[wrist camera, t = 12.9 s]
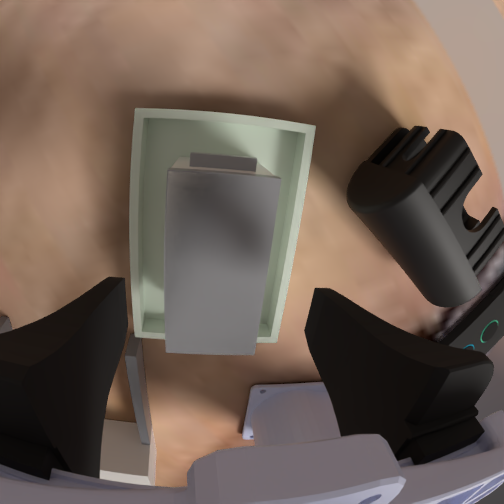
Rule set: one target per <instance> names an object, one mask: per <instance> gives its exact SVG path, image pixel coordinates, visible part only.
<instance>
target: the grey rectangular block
mask: <svg viewBox="0 0 504 504" xmlns="http://www.w3.org/2000/svg"><path fill="white" fill-rule="evenodd" d="M280 186H281V178H280V177H278V176H275V175H273V174H272V173H271V172H270V171H268V170H267V169H266V168H265V167H263V166H262V165H261V164H260V163H257V158H256V157H247V156H237V155H226V154H213V153H199V152H191V153H190V157H179V158H178V159H177V160H176V162H175V163H174V164H173V166H172V167H171V168H168V170H167V184H166V204H165V232H164V317H165V345H166V353H183V354H208V355H254V354H255V348H256V342H257V336H258V330H259V324H260V317H261V311H262V305H263V299H264V292H265V286H266V279H267V273H268V267H269V260H270V253H271V247H272V240H273V233H274V227H275V220H276V213H277V206H278V199H279V193H280Z"/></svg>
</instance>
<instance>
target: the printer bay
mask: <svg viewBox="0 0 504 504" xmlns="http://www.w3.org/2000/svg"><path fill="white" fill-rule="evenodd" d="M11 330H12V327H11V323H10V320H9V317H5V316H1V317H0V334H1V333H5V332H8V331H11ZM125 361H126V368H127V374H128V380H129V386H130V391H131V397H132V402H133V407H134V412H135V417H136V422H137V423H132V422H124V421H116V420H108V419H104V426H103V435H102V444H101V459H100V479H105V480H111V481H117V482H124V483H132V484H140V485H150V486H155V470H156V451H157V450H156V445H155V439H154V433H153V427H152V421H151V415H150V408H149V401H148V394H147V386H146V378H145V369H144V360H143V350H142V339H141V338H140V337H135V334H130V338H129V341H128V345H127V349H126V353H125Z"/></svg>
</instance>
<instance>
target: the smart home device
mask: <svg viewBox="0 0 504 504" xmlns="http://www.w3.org/2000/svg"><path fill="white" fill-rule="evenodd" d="M503 336H504V278H503V279H502V280H501V281H500V282H499V284H498V285H497V286H496V287H495V288H494V289H493V290H492V291H491V292H490V293H489V295H488V296H487V297H486V298H485V299H484V300H483V301H482V302H481V303H480V304H479V305H478V306H477V307H476V308H475V309H474V310H473V311H472V312H471V313H470V314H469V315H468V316H467V317H466V318H465V319H464V320H463V321H462V322H461V323H460V324H459V325H458V326H457V327H456V328H455V329H453V330H452V331H451V332H450V333H449V334H448V335H447V336H446V337H445V338H444V339H443V340H441V341H440V342H439V343H440V344H443V345H447V346H451V347H456V348H461V349H467V350H474V351H480V352H482V353H484V354H486V353H487V352H488V351H489V350H490V349H491V348H492V347H493V346H494V345H495V344H496V343H497V342H498V341H499V340H500V339H501V338H502V337H503Z"/></svg>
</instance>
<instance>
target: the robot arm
mask: <svg viewBox="0 0 504 504" xmlns="http://www.w3.org/2000/svg"><path fill="white" fill-rule="evenodd" d="M127 327H128V317H127V306H126V292H125V278H118V277H108V278H106V279H105V280H103V281H102V282H100V283H99V284H97V285H96V286H94V287H93V288H92V289H90V290H89V291H87V292H86V293H84V294H83V295H81V296H80V297H79V298H77V299H75V300H74V301H72V302H71V303H69V304H67V305H66V306H64V307H63V308H61V309H59V310H58V311H56V312H54V313H52V314H50V315H48V316H46V317H44V318H42V319H40V320H38V321H35V322H33V323H30V324H28V325H25V326H23V327H20V328H18V329H15V330H11V331H8V332H5V333H1V334H0V504H474V503H476V502H477V501H479V500H480V499H482V498H483V497H485V496H487V495H488V494H490V493H491V492H492V491H494V490H495V489H496V488H497V487H499V486H500V485H501V484H502V483H503V482H504V411H503V410H499V411H497V412H495V413H493V414H491V415H489V416H487V417H485V418H484V419H482V420H481V421H480V422H478V421H477V419H476V418H475V416H477V415H478V410H477V409H476V407H475V406H474V405H475V404H476V403H477V401H478V400H479V398H480V397H481V395H482V394H483V392H484V391H485V389H486V387H487V386H488V384H489V382H490V381H491V378H492V375H493V371H494V370H493V369H494V365H493V362H492V361H491V360H490V359H489V358H488V357H487V356H486V355H485V354H484V353H482V352H480V351H474V350H467V349H461V348H456V347H451V346H447V345H443V344H440V343H436V342H433V341H430V340H427V339H424V338H421V337H418V336H416V335H413V334H411V333H408V332H406V331H404V330H402V329H400V328H397V327H395V326H393V325H391V324H389V323H387V322H386V321H384V320H382V319H380V318H378V317H377V316H375V315H373V314H372V313H370V312H368V311H367V310H365V309H363V308H362V307H360V306H359V305H357V304H355V303H354V302H352V301H351V300H349V299H348V298H346V297H344V296H343V295H341V294H339V293H338V292H336V291H334V290H332V289H330V288H315V290H314V294H313V298H312V302H311V306H310V310H309V314H308V318H307V322H306V326H305V330H304V331H305V335H306V339H307V343H308V347H309V350H310V353H311V356H312V358H313V360H314V363H315V365H316V367H317V369H318V372H319V374H320V376H321V378H322V381H323V382H311V383H295V384H271V385H254V386H252V387H251V390H250V395H249V400H248V406H247V411H246V416H245V421H244V427H243V432H242V438H243V439H254V442H255V446H243V447H236V448H230V449H223V450H217V451H215V452H212V453H210V454H208V455H206V456H203V457H201V458H199V459H197V460H196V461H194V462H193V464H192V466H191V467H190V469H189V471H188V472H187V485H188V486H184V487H161V486H150V485H140V484H132V483H124V482H117V481H111V480H105V479H100V459H101V444H102V435H103V426H104V418H105V412H106V405H107V399H108V395H109V391H110V388H111V385H112V381H113V378H114V375H115V372H116V369H117V366H118V363H119V360H120V356H121V353H122V350H123V347H124V343H125V338H126V333H127Z"/></svg>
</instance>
